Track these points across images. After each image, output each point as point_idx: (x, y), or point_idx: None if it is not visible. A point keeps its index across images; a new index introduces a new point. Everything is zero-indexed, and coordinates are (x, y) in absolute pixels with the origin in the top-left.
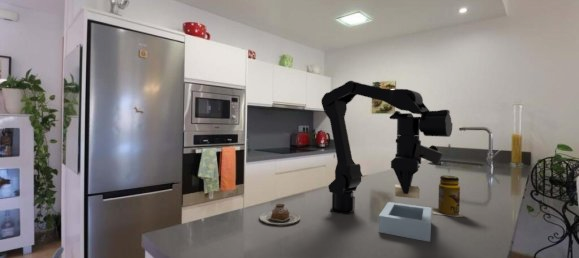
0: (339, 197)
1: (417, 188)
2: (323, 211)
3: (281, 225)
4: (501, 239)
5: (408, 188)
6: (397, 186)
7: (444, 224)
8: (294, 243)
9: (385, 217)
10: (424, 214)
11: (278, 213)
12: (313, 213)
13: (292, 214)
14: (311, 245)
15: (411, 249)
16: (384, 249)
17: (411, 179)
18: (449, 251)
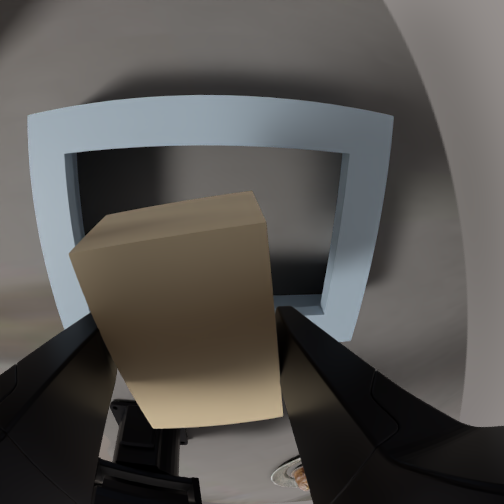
0: (178, 467)
1: (230, 250)
2: (201, 447)
3: None
4: None
5: (323, 336)
6: (239, 413)
7: (66, 58)
8: (434, 398)
9: (355, 315)
10: (212, 134)
11: None
12: (236, 454)
13: (282, 469)
14: (441, 378)
15: (437, 186)
16: (450, 257)
17: (60, 375)
18: (410, 65)
